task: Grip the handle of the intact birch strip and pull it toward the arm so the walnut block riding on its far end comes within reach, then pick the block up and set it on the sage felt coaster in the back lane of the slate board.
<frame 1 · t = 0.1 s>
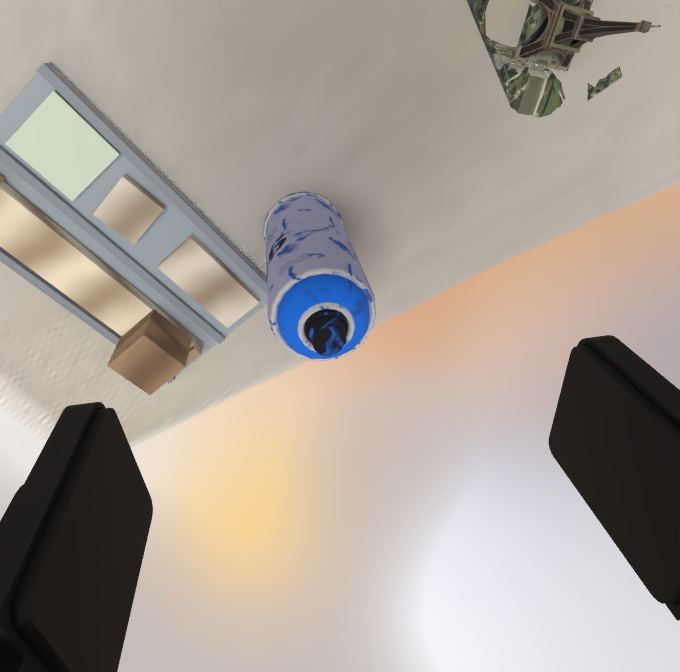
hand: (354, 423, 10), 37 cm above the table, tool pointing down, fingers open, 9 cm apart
broken strip: (184, 252, 45), resting on slate board
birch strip: (73, 292, 41), point 5 cm above the table, slide at 0.0 cm, touching walnut block
aerosol can: (303, 231, 46), on the table
slate board: (122, 248, 44), on the table
walnut block: (156, 338, 47), point 2 cm above the table, touching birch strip
felt coaster: (69, 146, 39), resting on slate board
eiffel tower figurine: (542, 31, 40), on the table
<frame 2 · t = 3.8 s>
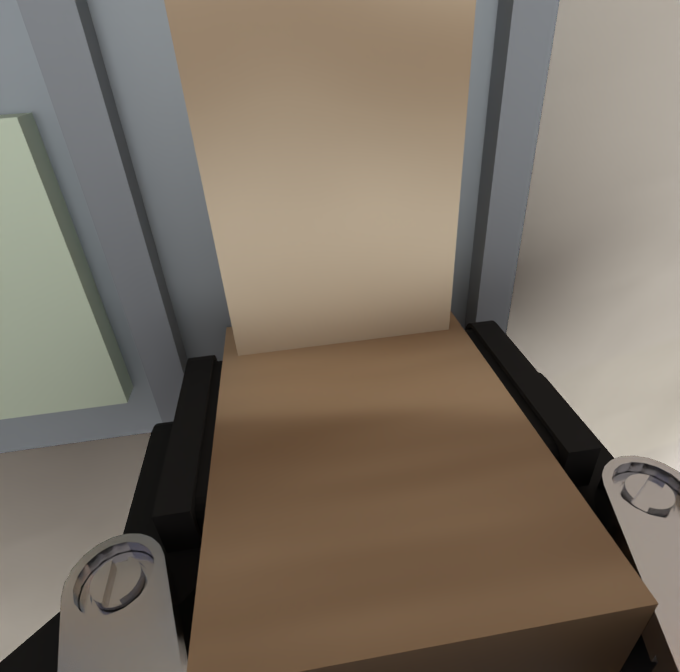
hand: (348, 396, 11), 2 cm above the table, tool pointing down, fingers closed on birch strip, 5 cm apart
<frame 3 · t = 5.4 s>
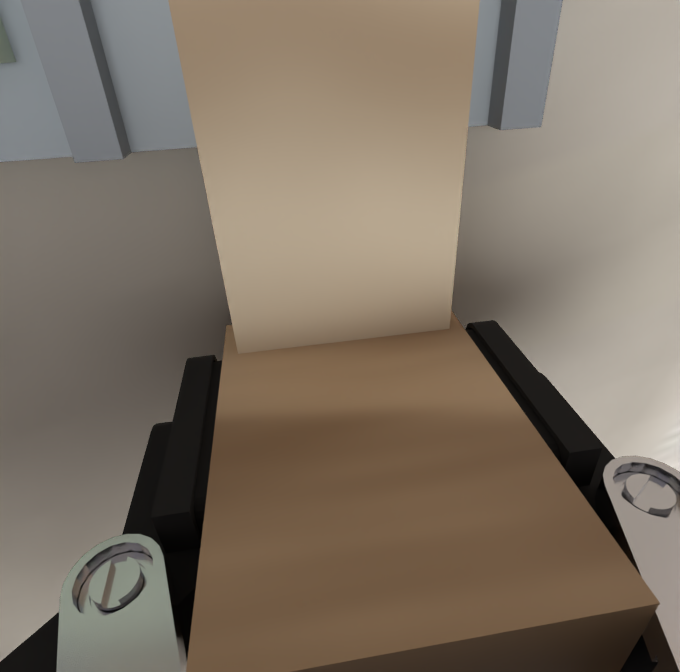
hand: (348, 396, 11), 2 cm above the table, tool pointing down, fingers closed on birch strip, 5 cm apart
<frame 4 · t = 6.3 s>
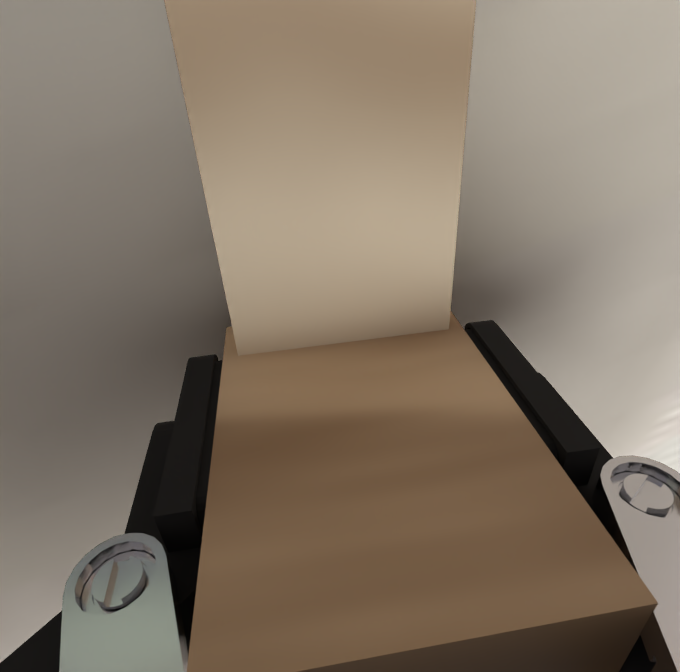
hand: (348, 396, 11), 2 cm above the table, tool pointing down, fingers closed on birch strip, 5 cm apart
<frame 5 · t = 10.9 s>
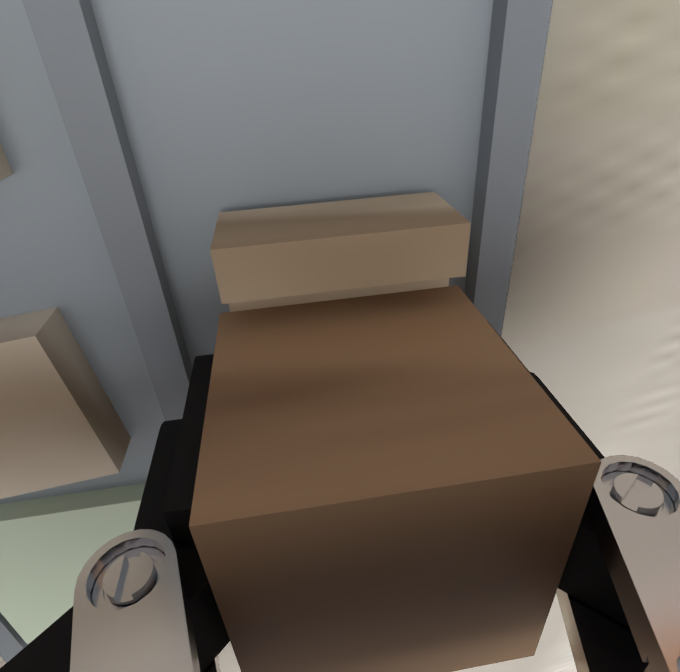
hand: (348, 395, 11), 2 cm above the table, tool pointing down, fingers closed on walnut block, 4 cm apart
slate board: (161, 289, 11), on the table
walnut block: (347, 392, 11), point 2 cm above the table, touching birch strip, gripper
felt coaster: (103, 536, 15), resting on slate board
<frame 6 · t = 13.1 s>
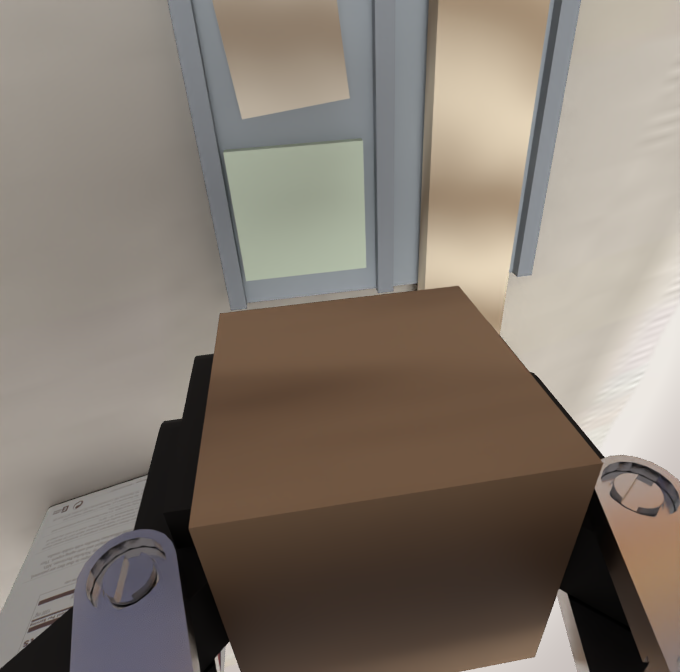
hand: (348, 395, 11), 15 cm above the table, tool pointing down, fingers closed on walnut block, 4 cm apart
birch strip: (490, 263, 21), point 5 cm above the table, slide at 10.0 cm
supplement box: (147, 522, 33), on the table
walnut block: (347, 393, 11), point 15 cm above the table, touching gripper
felt coaster: (298, 206, 23), resting on slate board
when the fingers open (3 cm above the table, at t = 15.4 s): walnut block drops 2 cm, resting on felt coaster.
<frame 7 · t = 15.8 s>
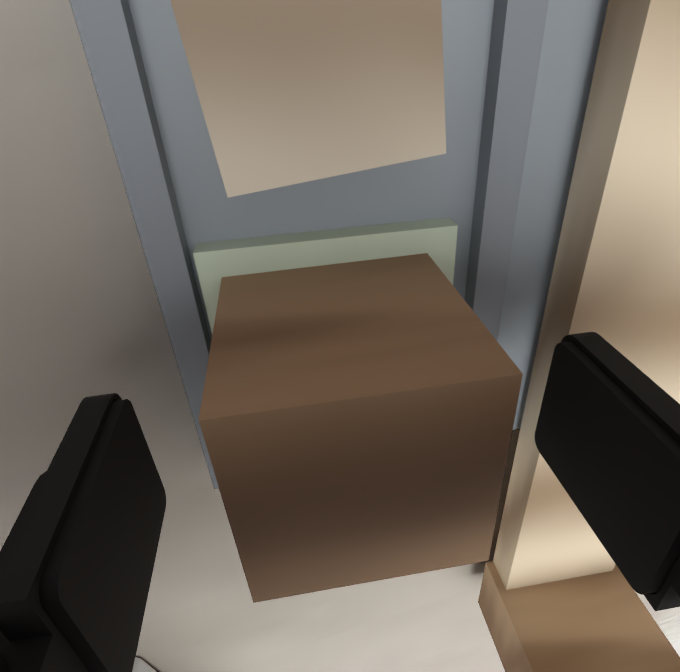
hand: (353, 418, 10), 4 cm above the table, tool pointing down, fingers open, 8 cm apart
walnut block: (333, 350, 12), point 1 cm above the table, touching felt coaster
felt coaster: (329, 322, 13), resting on slate board
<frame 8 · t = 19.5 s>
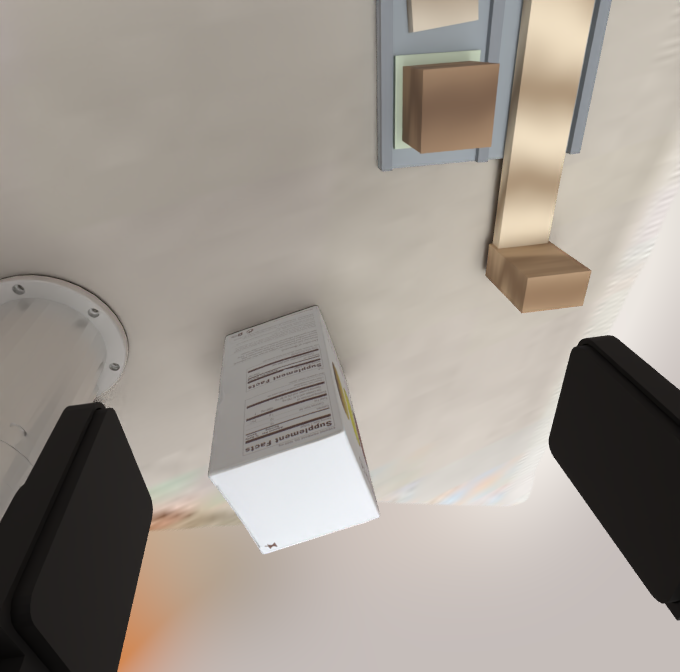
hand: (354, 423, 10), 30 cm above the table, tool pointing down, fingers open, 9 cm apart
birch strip: (559, 129, 33), point 5 cm above the table, slide at 10.0 cm
supplement box: (288, 356, 45), on the table
walnut block: (435, 102, 34), point 1 cm above the table, touching felt coaster
felt coaster: (430, 99, 35), resting on slate board
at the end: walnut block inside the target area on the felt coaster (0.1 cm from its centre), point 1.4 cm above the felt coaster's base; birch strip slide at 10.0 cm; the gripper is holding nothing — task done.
